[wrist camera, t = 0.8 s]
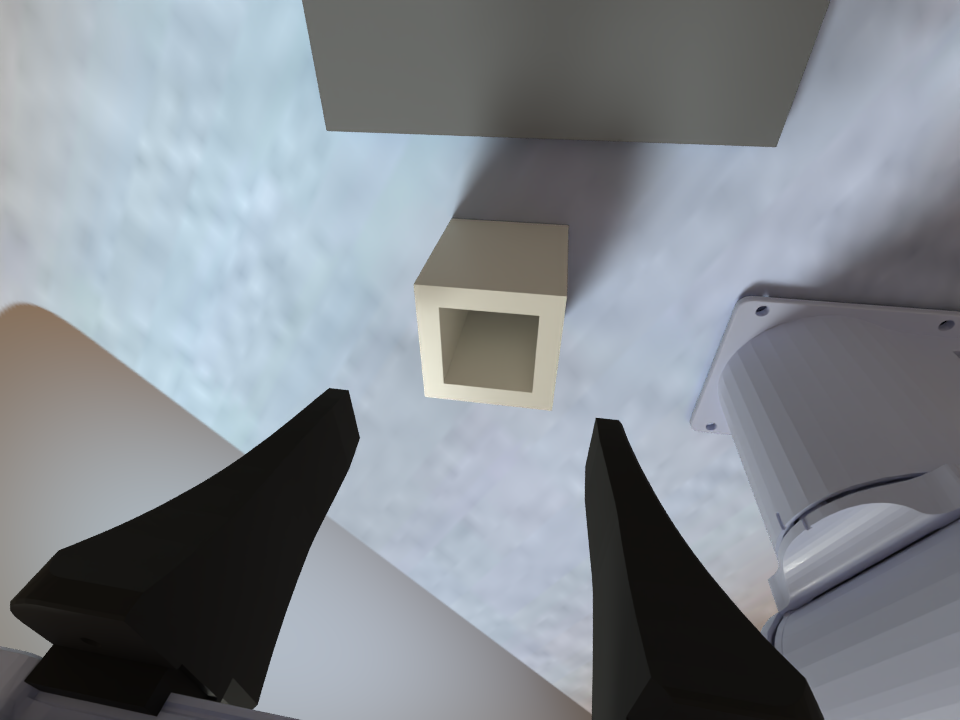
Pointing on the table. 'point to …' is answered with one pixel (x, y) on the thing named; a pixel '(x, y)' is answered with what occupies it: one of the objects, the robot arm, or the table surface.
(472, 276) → the sleeve
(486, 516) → the table surface
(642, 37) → the post board
